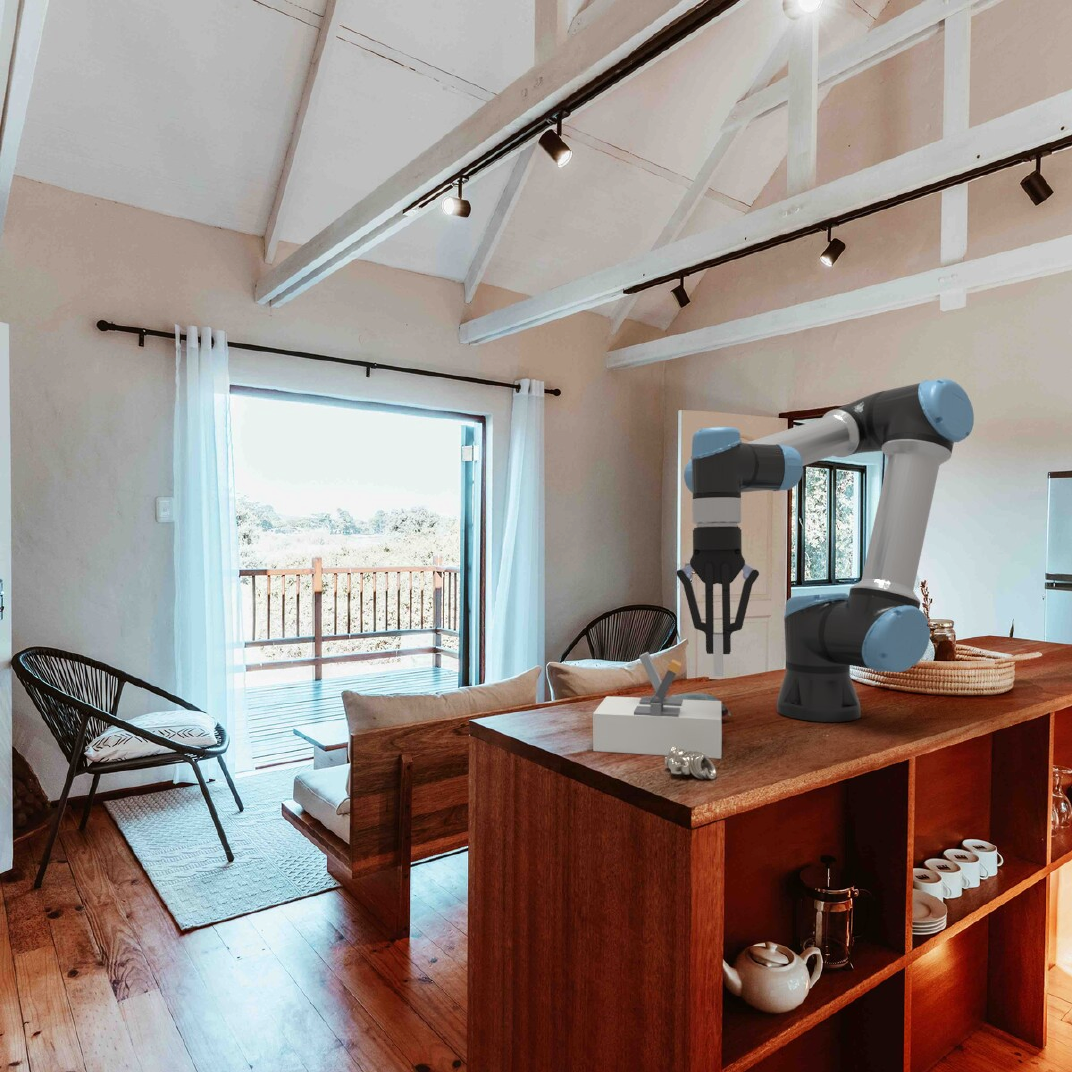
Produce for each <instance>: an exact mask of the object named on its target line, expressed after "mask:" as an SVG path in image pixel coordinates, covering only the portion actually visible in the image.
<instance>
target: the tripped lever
mask: <svg viewBox="0 0 1072 1072" xmlns="http://www.w3.org/2000/svg"><path fill="white" fill-rule="evenodd" d="M681 667H682V663H681V662H680V661H678V660H677V659H676V660H675V659H674V658H673V659H671V662H670V664H669V666H668V668H667V670H666V673H665V674H664V677H663V678H662V683H661V685H660V687H659V689H658V691H657V693H656V694H655V693H654V694H653V695H652V696H651V697H652V698H651V701H650V705H651V703H661V707H662V705H663V703H664V697H665V695H666V693H667V694H668V692H669V689H670V687H671V685H672V683H673V681H674V679H675V677H676V676H677V675H678V672H679V671H680V669H681ZM667 691H668V692H667ZM666 696H667V695H666Z"/></svg>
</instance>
